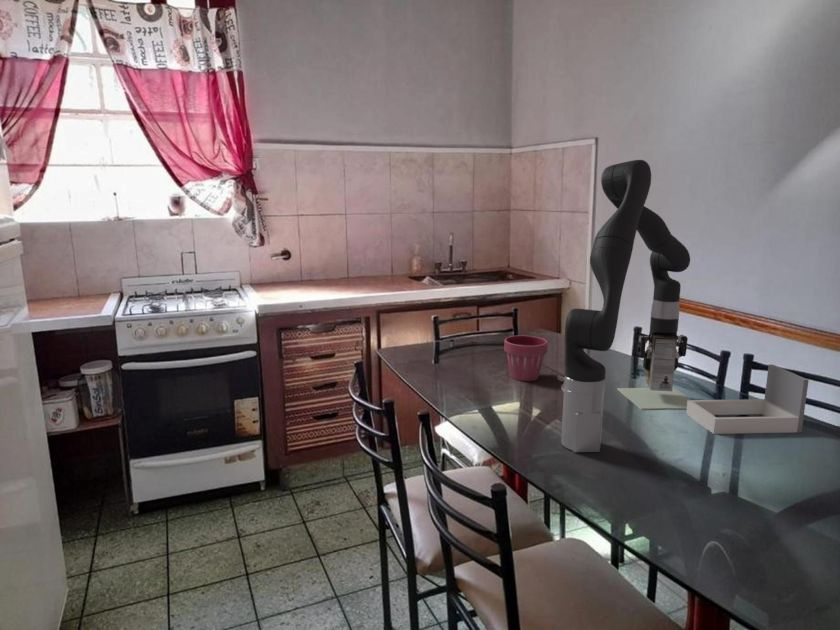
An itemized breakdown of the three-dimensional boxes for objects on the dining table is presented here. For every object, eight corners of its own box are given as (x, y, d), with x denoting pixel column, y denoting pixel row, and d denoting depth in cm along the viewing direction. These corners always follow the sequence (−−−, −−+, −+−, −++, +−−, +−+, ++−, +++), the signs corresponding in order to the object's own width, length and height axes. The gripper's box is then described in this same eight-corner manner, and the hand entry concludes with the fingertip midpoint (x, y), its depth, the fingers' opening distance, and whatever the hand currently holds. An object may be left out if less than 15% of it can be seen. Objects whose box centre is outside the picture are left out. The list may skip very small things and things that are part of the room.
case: (801, 432, 151) (808, 379, 148) (713, 433, 150) (719, 381, 147) (766, 412, 165) (772, 364, 162) (686, 414, 163) (690, 365, 161)
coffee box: (644, 381, 180) (648, 330, 177) (666, 382, 179) (671, 331, 176) (649, 390, 172) (654, 336, 168) (673, 392, 170) (678, 338, 167)
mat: (703, 408, 168) (703, 407, 168) (641, 409, 167) (641, 408, 167) (672, 388, 185) (673, 387, 185) (616, 389, 184) (616, 388, 184)
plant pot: (543, 385, 188) (544, 346, 185) (499, 381, 192) (500, 343, 190) (548, 373, 201) (550, 336, 199) (507, 369, 205) (508, 333, 203)
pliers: (566, 390, 180) (548, 375, 194) (566, 395, 180) (547, 380, 195) (596, 388, 181) (576, 374, 196) (596, 393, 182) (576, 378, 196)
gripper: (646, 318, 167) (641, 374, 170) (695, 317, 168) (690, 373, 171) (635, 313, 174) (631, 366, 178) (682, 312, 175) (677, 366, 178)
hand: (660, 370), depth 174 cm, fingers closed on coffee box, 7 cm apart
